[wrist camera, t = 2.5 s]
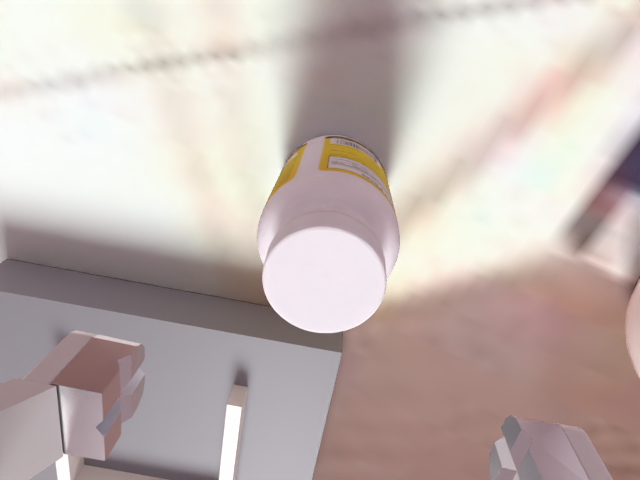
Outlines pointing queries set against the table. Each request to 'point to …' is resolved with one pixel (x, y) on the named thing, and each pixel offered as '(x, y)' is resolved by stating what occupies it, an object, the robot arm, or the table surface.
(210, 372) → the dock
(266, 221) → the supplement bottle
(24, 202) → the table surface
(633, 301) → the lidded jar
